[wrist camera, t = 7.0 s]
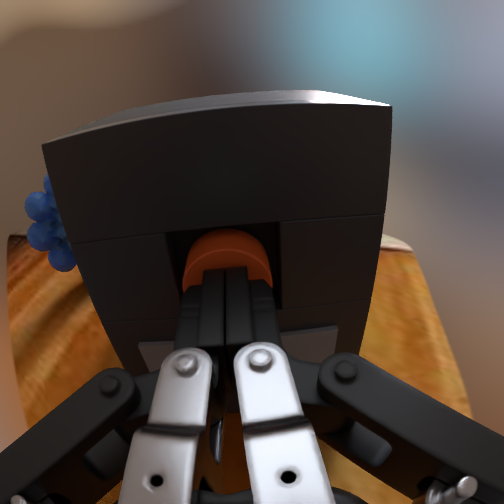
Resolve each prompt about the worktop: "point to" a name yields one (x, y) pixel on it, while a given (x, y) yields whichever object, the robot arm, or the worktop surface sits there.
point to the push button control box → (228, 211)
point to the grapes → (48, 229)
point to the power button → (226, 256)
